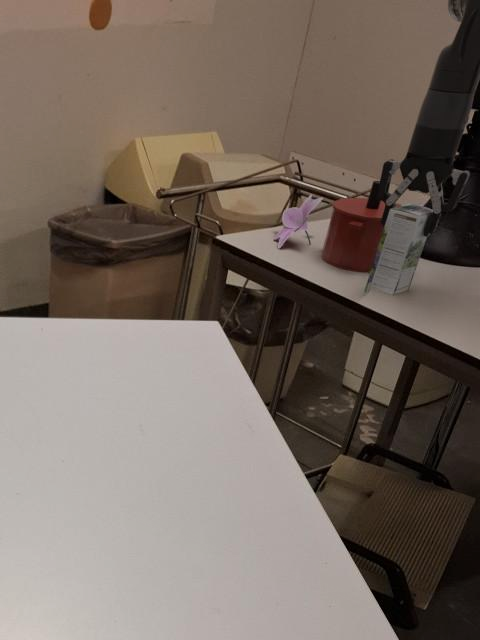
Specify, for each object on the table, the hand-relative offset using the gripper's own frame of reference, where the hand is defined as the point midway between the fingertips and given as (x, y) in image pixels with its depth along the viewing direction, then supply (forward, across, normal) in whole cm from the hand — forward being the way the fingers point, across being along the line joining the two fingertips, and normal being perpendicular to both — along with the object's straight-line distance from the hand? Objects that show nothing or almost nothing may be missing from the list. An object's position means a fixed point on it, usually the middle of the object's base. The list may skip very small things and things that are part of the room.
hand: (406, 231), depth 147 cm
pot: (+11, -11, +18) cm, 24 cm away
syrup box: (+11, 0, 0) cm, 11 cm away
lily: (+11, -26, +20) cm, 35 cm away
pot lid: (+2, -11, +18) cm, 21 cm away
